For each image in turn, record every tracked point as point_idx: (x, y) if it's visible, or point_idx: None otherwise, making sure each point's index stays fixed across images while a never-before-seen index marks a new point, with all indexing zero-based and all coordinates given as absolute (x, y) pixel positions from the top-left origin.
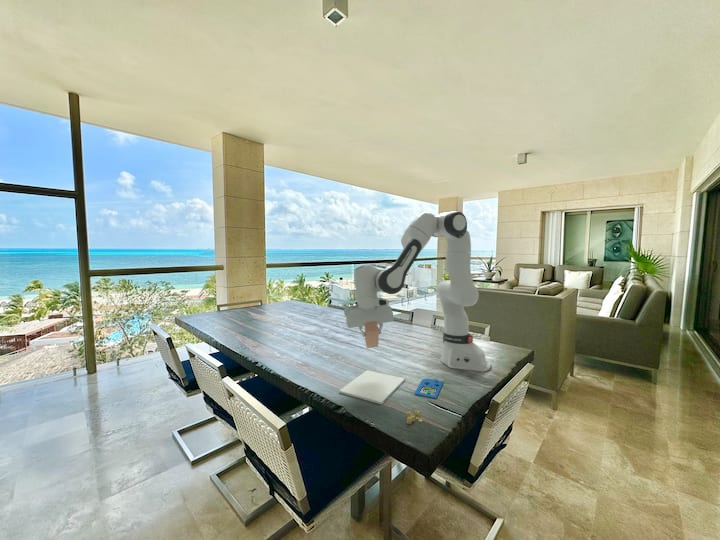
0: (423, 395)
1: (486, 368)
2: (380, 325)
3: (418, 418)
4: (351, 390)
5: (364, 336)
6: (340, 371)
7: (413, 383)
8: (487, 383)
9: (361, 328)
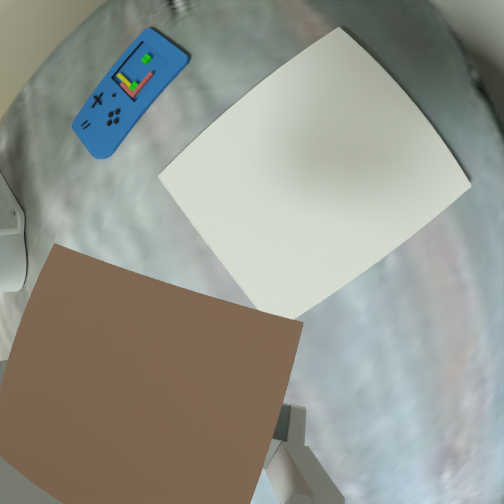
0: (170, 42)
1: None
2: None
3: None
4: (428, 161)
5: (284, 403)
6: (380, 379)
7: (147, 140)
8: (18, 103)
9: (309, 500)
